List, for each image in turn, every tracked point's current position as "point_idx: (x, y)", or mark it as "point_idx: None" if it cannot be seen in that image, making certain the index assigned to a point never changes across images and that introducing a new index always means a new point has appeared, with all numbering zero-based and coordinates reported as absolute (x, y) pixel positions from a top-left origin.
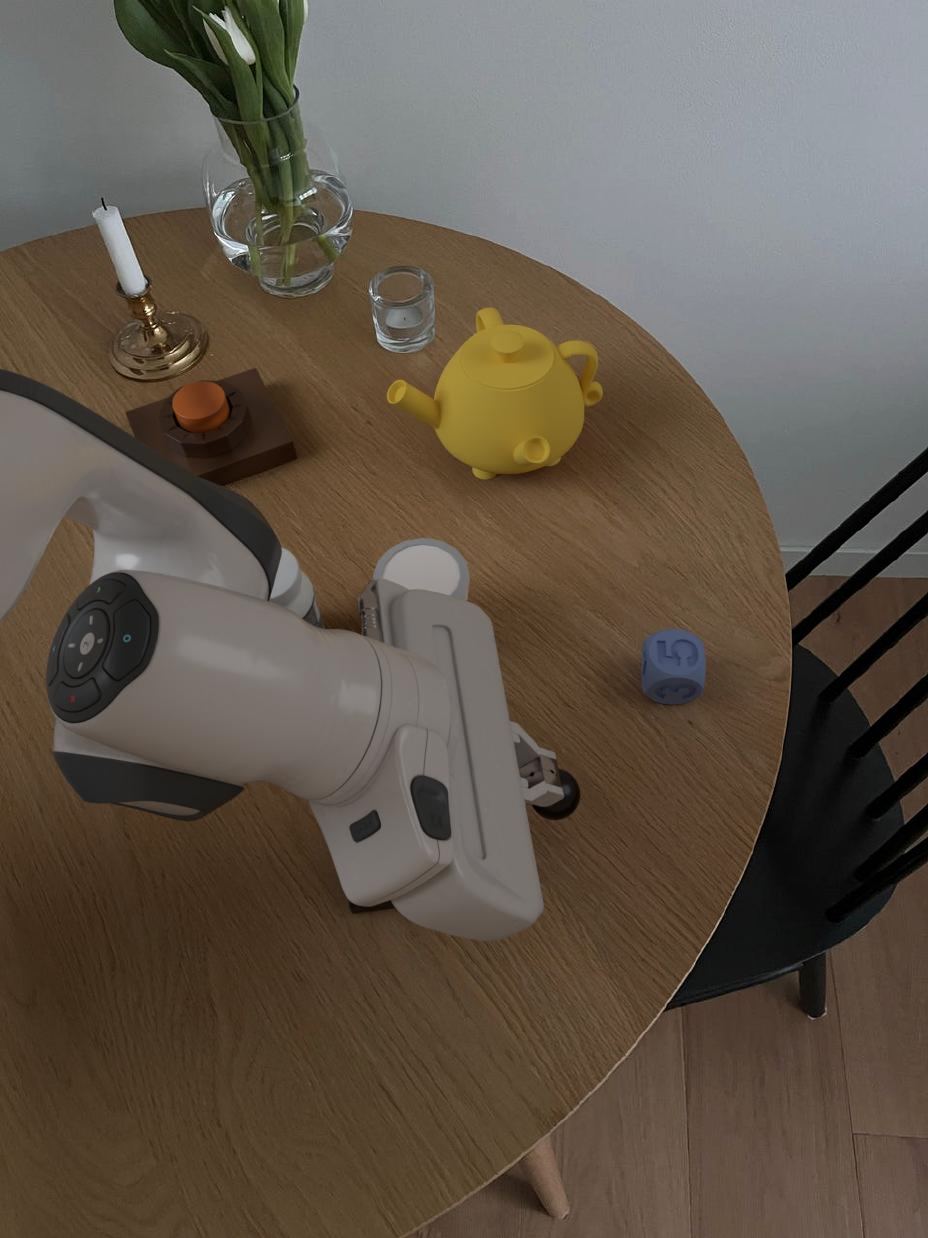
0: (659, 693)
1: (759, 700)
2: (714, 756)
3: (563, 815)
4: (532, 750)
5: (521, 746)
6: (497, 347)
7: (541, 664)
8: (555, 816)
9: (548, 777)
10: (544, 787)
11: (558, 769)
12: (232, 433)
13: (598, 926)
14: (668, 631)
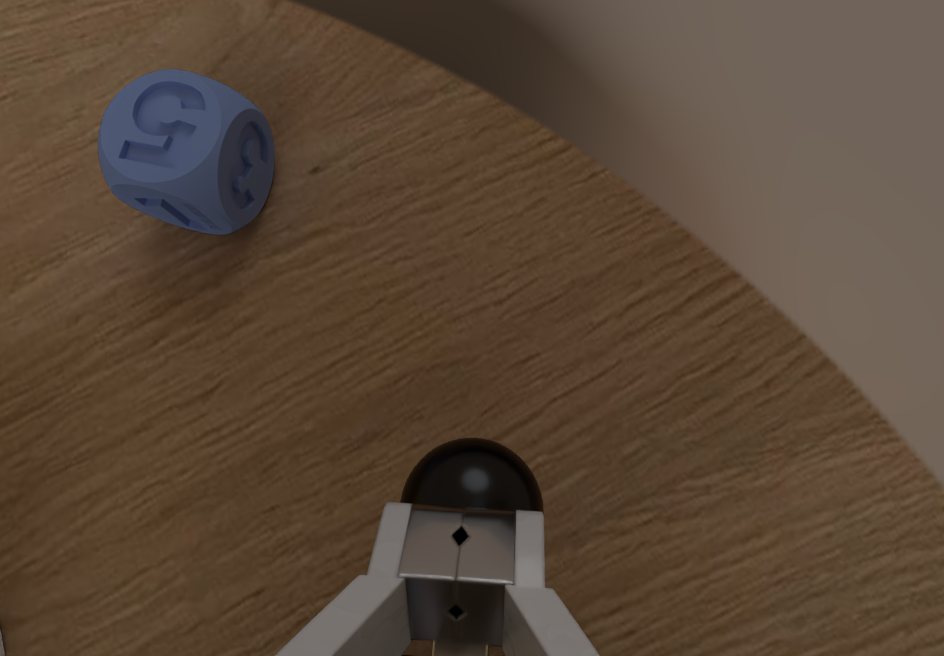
0: (242, 202)
1: (306, 41)
2: (394, 147)
3: (541, 502)
4: (381, 607)
5: (357, 651)
6: None
7: (99, 423)
8: None
9: (488, 562)
10: (536, 596)
11: (415, 488)
12: None
13: (691, 452)
14: (105, 127)
